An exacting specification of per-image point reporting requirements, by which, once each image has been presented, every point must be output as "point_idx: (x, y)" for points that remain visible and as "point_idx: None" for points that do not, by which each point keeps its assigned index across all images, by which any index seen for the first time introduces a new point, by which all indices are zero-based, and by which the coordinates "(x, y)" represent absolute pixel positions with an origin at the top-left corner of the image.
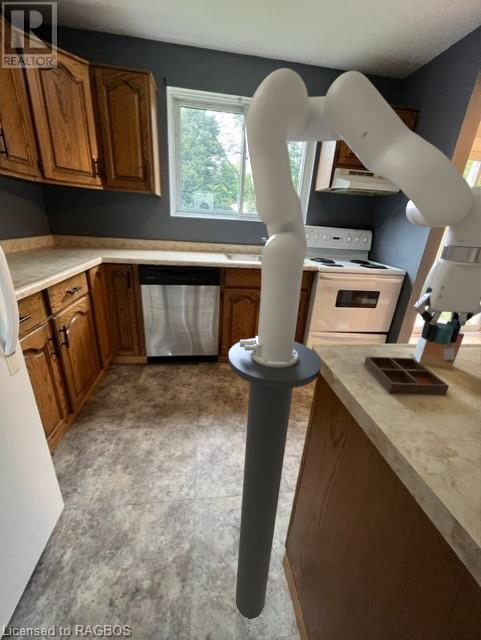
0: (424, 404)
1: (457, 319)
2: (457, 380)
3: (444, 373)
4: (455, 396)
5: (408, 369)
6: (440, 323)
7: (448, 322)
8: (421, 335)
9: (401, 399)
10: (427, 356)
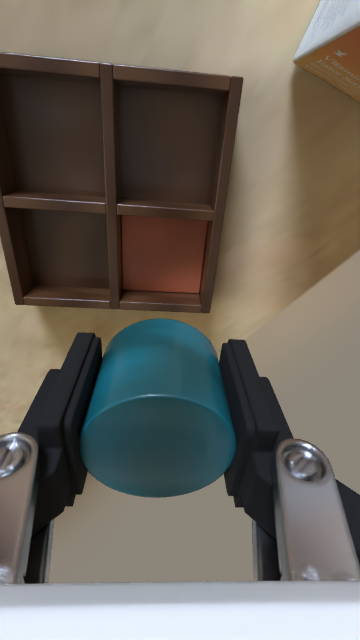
0: (110, 332)
1: (272, 520)
2: (332, 216)
3: (334, 161)
4: (231, 302)
5: (133, 207)
6: (181, 419)
7: (244, 440)
8: (76, 336)
9: (55, 313)
10: (336, 66)
